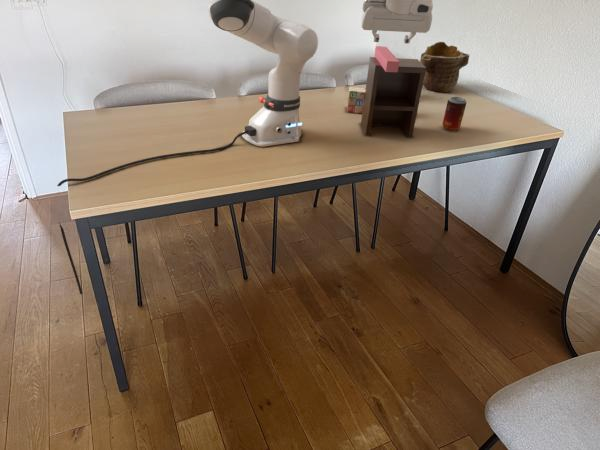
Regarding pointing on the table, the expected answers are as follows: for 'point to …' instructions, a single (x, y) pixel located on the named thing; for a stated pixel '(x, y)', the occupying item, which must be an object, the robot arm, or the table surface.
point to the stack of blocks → (356, 99)
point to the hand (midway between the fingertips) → (391, 41)
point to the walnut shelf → (393, 95)
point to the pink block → (386, 59)
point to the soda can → (454, 113)
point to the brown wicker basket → (442, 66)
